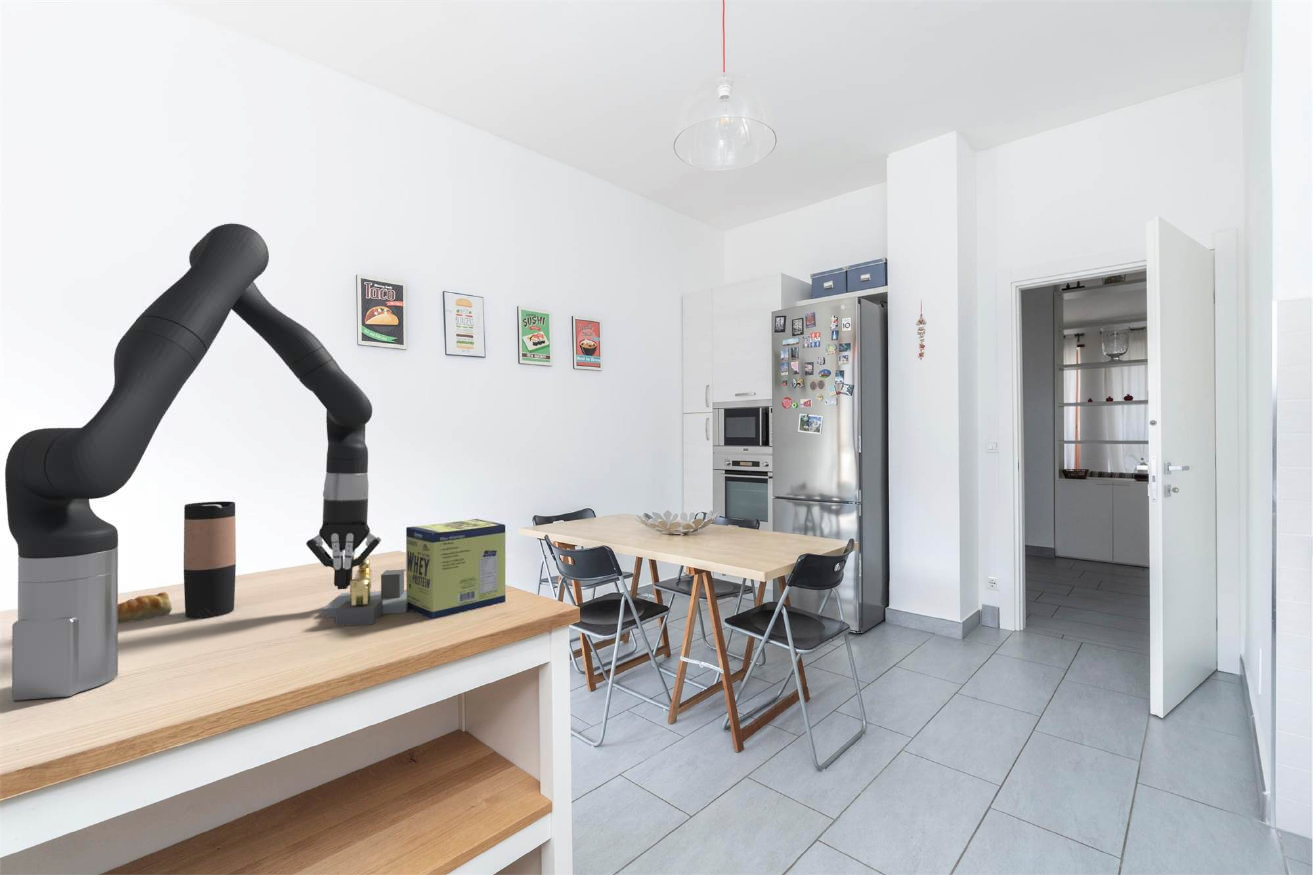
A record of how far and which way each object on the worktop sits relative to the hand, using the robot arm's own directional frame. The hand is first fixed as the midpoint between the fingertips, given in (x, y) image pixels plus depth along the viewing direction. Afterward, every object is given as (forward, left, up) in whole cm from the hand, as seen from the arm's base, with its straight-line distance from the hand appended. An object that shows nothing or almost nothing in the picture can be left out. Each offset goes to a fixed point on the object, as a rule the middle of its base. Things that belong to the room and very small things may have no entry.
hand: (342, 588), depth 112 cm
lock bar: (-3, -4, -1) cm, 6 cm away
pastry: (+1, +34, -4) cm, 34 cm away
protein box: (-3, -21, -4) cm, 22 cm away
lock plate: (-4, -5, -4) cm, 8 cm away
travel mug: (+1, +23, -4) cm, 23 cm away
